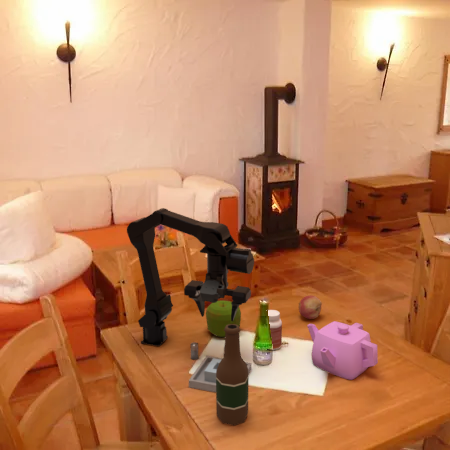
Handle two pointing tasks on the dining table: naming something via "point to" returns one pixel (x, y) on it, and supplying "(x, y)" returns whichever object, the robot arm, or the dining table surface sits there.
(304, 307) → the fruit
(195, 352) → the brown rounded cylinder
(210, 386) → the tray
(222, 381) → the beer bottle
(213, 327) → the apple
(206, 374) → the ring
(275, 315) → the pill bottle
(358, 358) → the teakettle
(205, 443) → the dining table surface
